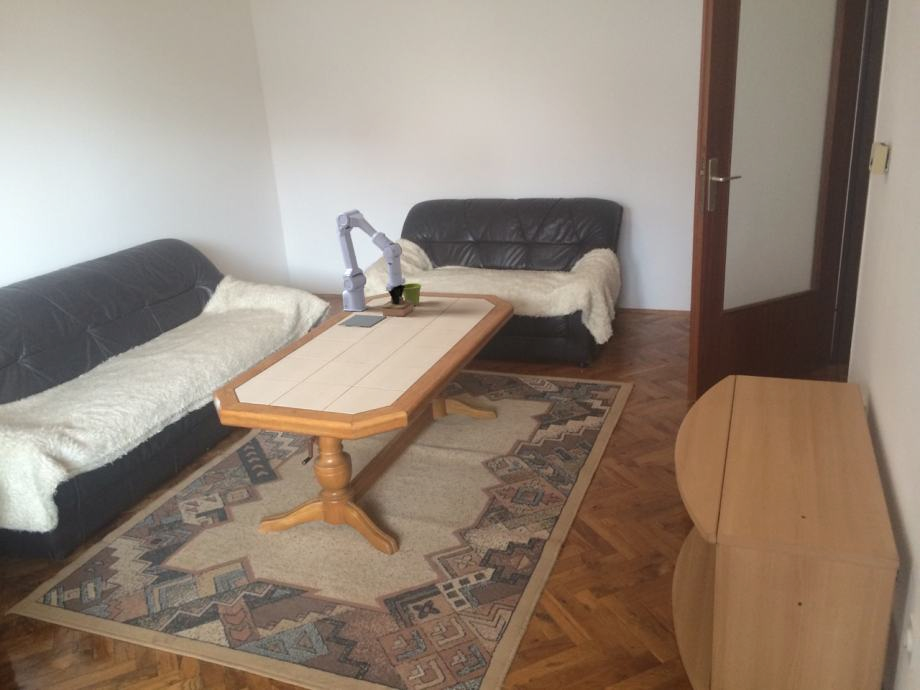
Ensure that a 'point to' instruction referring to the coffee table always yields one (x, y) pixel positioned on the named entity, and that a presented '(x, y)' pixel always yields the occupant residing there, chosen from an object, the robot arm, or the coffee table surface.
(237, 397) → the coffee table surface
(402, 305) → the lid
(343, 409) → the coffee table surface
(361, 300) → the robot arm
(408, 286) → the plant pot
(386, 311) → the dish
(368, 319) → the mat
